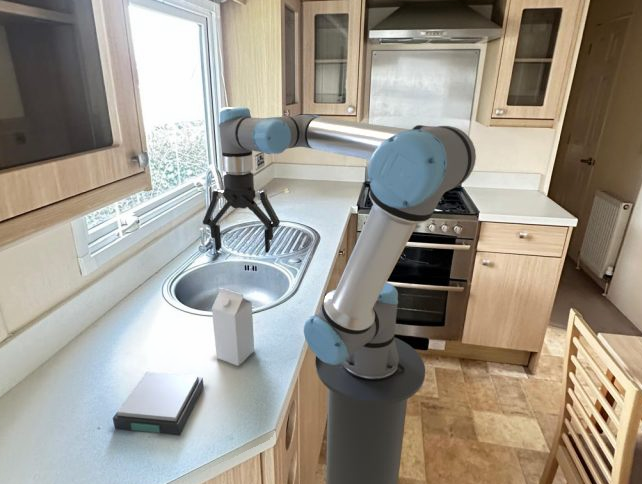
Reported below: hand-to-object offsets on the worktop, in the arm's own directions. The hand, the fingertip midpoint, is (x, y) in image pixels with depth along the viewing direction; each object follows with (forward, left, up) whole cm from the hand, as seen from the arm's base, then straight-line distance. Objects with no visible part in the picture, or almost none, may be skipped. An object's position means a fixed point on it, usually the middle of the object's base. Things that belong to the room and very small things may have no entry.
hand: (243, 249), depth 110 cm
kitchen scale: (+11, +33, -25) cm, 42 cm away
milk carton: (0, +13, -25) cm, 28 cm away
